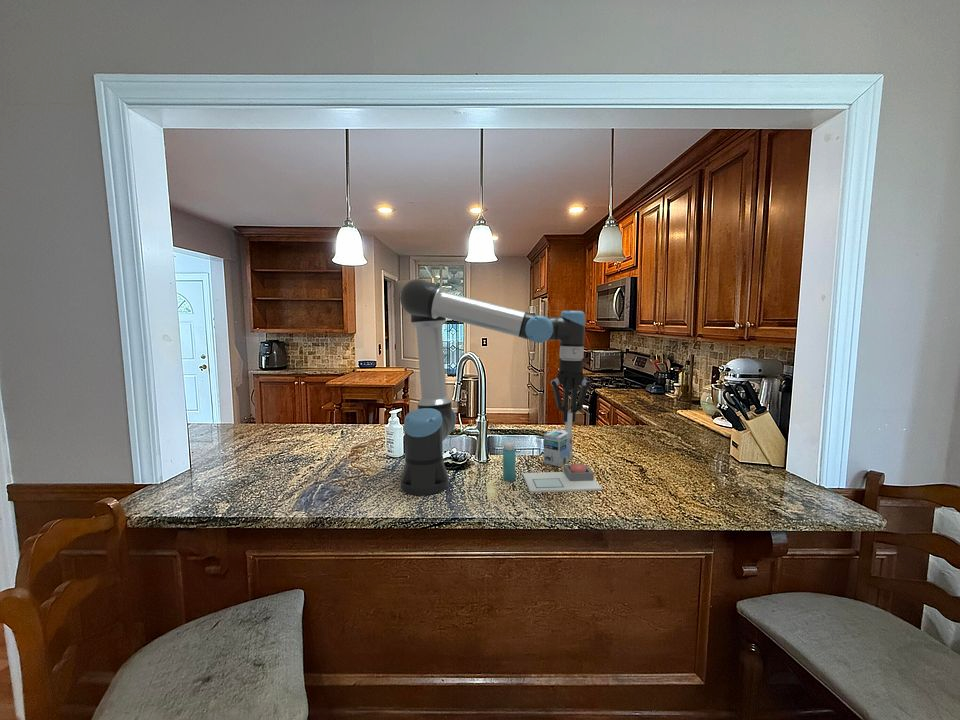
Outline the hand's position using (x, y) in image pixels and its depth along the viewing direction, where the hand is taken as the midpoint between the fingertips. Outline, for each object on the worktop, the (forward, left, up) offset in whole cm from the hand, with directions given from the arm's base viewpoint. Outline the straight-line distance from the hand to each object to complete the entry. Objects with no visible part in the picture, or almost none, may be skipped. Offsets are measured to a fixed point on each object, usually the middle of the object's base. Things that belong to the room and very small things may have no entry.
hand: (568, 431), depth 129 cm
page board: (-4, -4, -15) cm, 16 cm away
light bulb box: (0, +15, -16) cm, 22 cm away
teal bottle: (-19, 0, -15) cm, 25 cm away
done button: (+3, -1, -14) cm, 15 cm away
